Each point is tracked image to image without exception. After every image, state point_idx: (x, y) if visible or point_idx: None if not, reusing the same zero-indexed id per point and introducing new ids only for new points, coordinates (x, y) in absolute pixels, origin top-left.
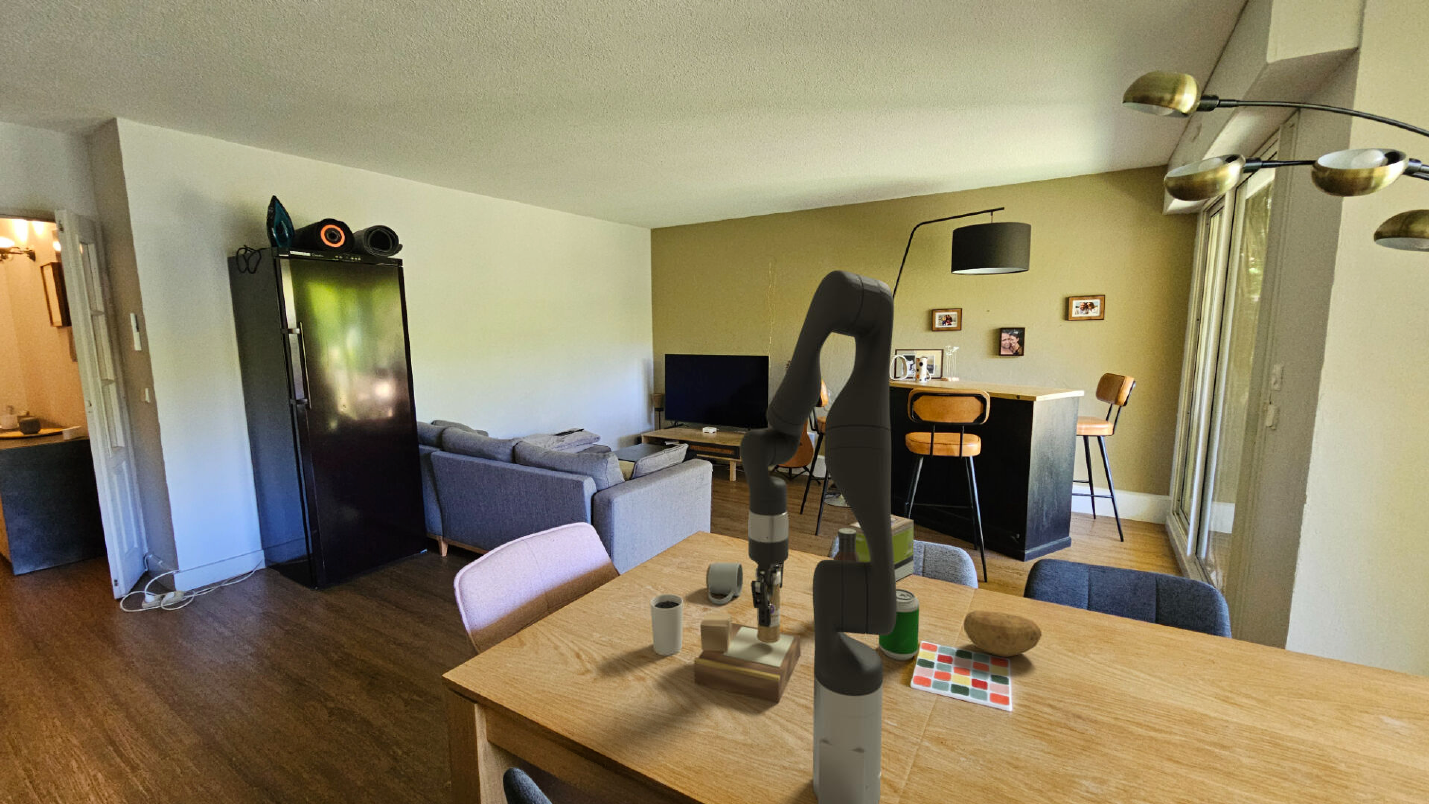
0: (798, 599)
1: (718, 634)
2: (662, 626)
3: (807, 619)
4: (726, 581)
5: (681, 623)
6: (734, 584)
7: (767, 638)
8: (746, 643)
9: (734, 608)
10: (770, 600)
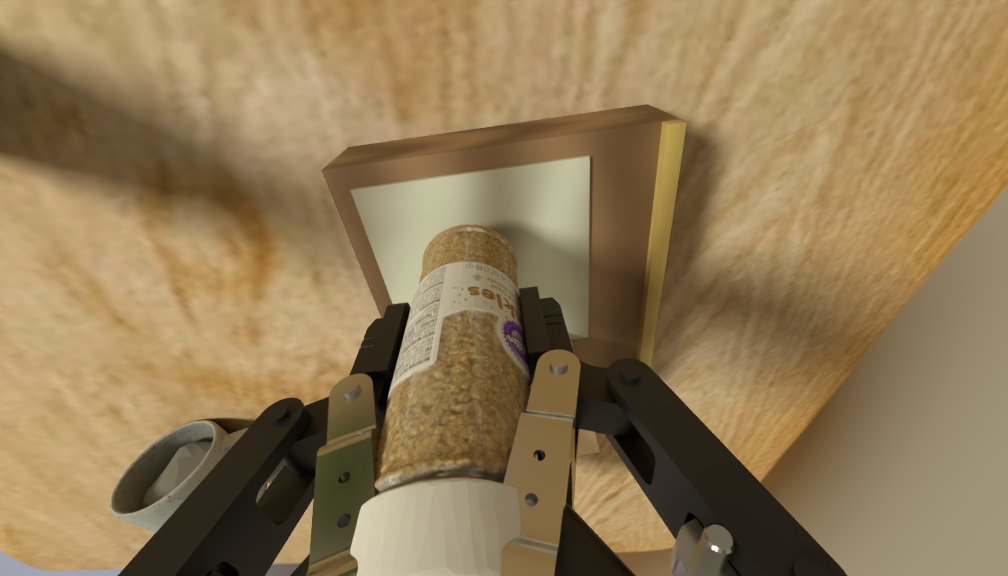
0: (33, 293)
1: None
2: None
3: (115, 215)
4: None
5: None
6: (209, 462)
7: (513, 262)
8: None
9: (271, 402)
10: (557, 391)
